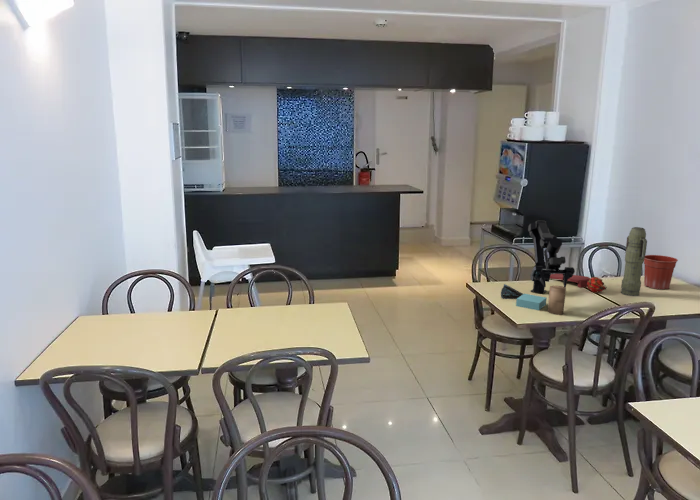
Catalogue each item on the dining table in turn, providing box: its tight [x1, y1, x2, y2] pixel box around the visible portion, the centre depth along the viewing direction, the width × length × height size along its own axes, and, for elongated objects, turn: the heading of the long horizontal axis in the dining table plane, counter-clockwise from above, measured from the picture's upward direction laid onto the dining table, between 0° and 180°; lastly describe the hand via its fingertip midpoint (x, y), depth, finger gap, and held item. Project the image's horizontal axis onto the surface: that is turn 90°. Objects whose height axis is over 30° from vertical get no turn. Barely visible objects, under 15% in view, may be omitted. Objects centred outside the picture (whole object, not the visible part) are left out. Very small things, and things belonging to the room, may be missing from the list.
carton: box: [550, 274, 591, 289], centre depth 308 cm, size 12×5×25 cm
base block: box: [515, 293, 547, 311], centre depth 264 cm, size 11×11×4 cm
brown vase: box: [547, 284, 567, 316], centre depth 254 cm, size 7×7×12 cm
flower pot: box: [643, 254, 679, 290], centre depth 297 cm, size 16×16×16 cm
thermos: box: [620, 226, 648, 297], centre depth 282 cm, size 9×12×35 cm
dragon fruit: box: [586, 276, 608, 294], centre depth 287 cm, size 8×8×12 cm
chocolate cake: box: [500, 283, 524, 300], centre depth 278 cm, size 10×7×12 cm
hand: (555, 287), depth 257 cm, fingers open, 9 cm apart
